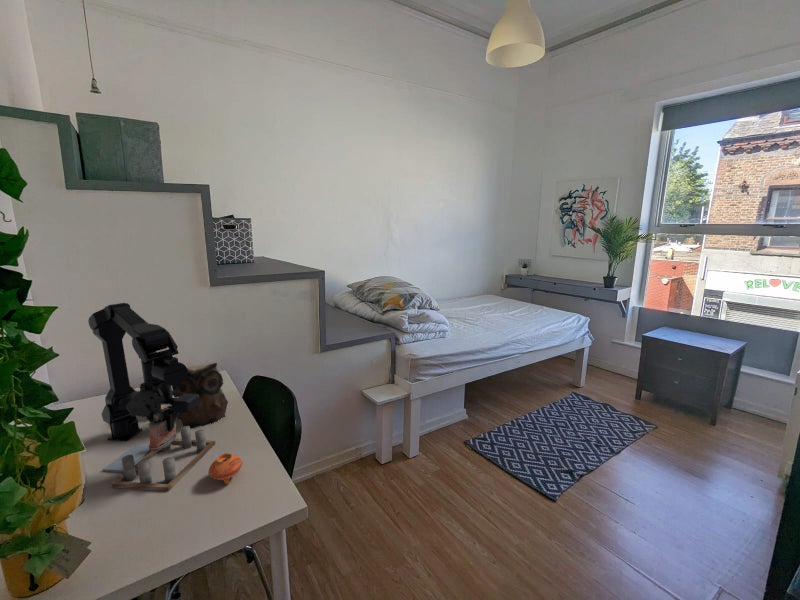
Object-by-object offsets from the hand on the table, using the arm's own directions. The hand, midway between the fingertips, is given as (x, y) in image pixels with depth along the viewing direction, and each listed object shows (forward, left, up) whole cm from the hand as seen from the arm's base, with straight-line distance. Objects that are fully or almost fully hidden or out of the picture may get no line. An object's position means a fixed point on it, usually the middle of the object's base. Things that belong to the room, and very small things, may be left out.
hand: (164, 430), depth 99 cm
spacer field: (0, 0, -10) cm, 10 cm away
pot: (+19, -4, -10) cm, 22 cm away
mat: (-12, +1, -10) cm, 16 cm away
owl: (-5, +24, -10) cm, 27 cm away
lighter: (-1, 0, -4) cm, 4 cm away
